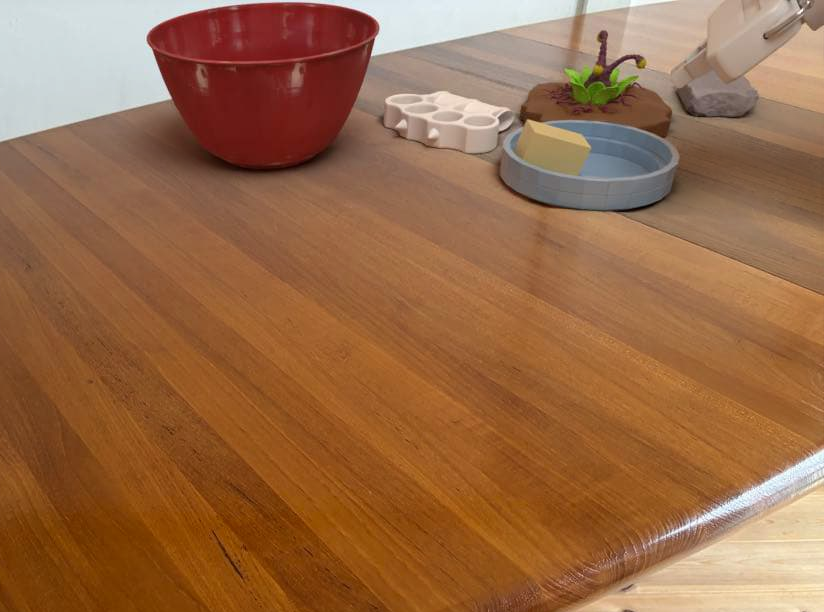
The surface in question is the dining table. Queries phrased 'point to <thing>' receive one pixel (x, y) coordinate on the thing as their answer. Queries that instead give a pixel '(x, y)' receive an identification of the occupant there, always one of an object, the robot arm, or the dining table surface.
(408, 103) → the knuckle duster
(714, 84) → the stone block
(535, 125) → the yellow block
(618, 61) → the plant
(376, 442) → the dining table surface
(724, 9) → the robot arm
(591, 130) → the blue bowl
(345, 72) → the mixing bowl
